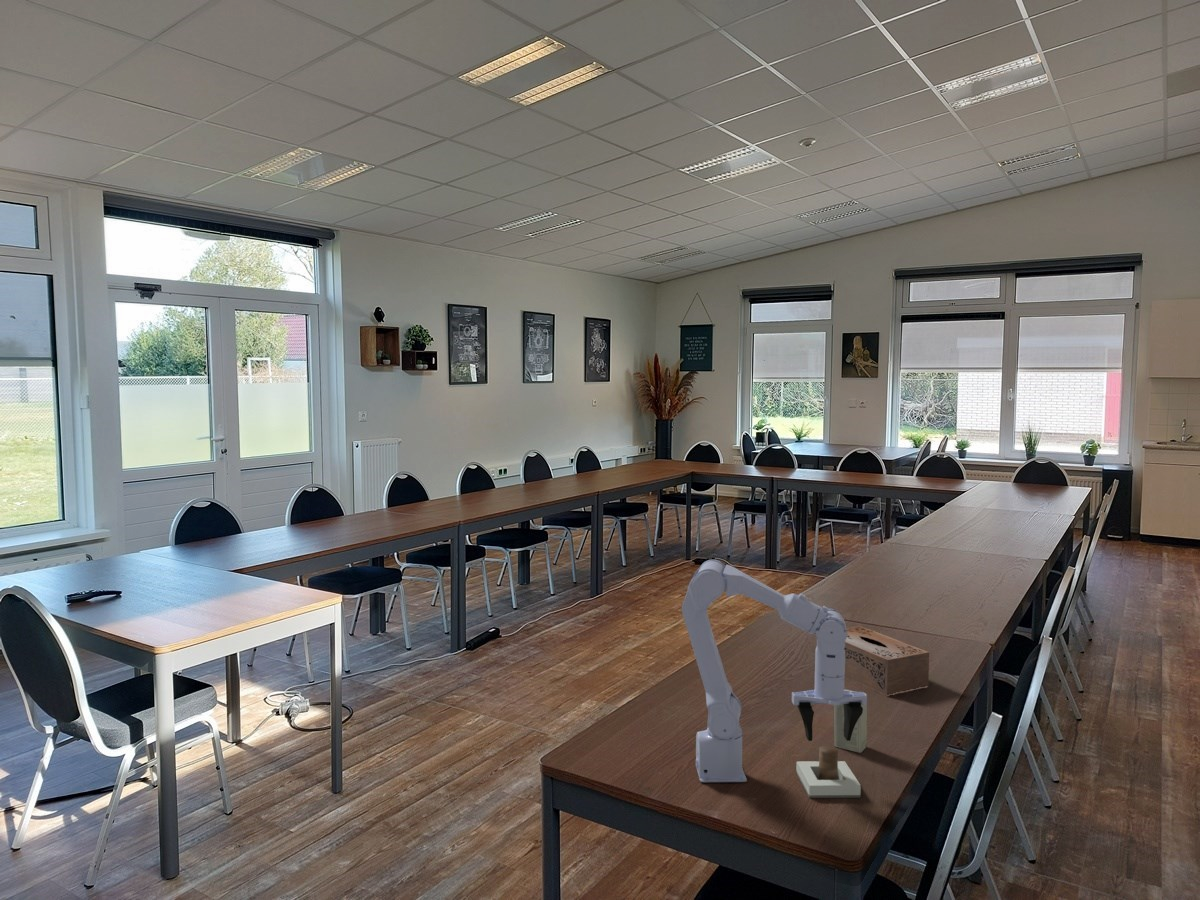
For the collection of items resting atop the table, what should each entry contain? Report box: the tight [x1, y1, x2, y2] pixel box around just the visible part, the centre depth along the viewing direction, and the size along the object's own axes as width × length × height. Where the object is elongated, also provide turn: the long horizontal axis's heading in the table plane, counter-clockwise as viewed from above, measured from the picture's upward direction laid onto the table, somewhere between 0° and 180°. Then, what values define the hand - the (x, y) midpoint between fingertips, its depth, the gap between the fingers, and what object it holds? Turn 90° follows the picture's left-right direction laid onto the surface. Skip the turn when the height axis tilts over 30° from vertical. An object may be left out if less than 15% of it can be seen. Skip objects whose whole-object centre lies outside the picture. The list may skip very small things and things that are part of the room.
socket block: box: [795, 760, 862, 799], centre depth 161 cm, size 10×10×2 cm
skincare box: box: [833, 688, 868, 754], centre depth 178 cm, size 6×4×12 cm
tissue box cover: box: [844, 625, 930, 695], centre depth 221 cm, size 26×14×10 cm, turn 24°
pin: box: [818, 745, 839, 780], centre depth 160 cm, size 4×4×7 cm
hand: (828, 738), depth 160 cm, fingers open, 7 cm apart
